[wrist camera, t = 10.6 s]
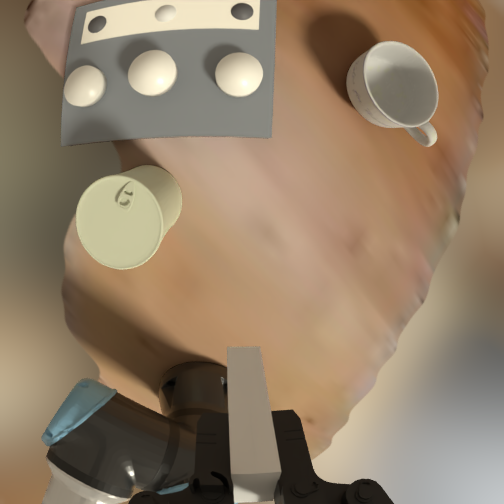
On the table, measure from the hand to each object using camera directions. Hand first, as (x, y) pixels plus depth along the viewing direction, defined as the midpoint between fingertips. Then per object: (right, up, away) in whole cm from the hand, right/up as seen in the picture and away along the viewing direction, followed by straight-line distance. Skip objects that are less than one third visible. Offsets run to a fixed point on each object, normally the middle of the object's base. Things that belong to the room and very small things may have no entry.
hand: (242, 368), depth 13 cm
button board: (-10, +29, +17) cm, 35 cm away
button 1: (-1, +25, +16) cm, 29 cm away
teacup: (+18, +26, +20) cm, 37 cm away
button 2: (-19, +25, +14) cm, 34 cm away
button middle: (-10, +24, +13) cm, 29 cm away
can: (-13, +12, +23) cm, 29 cm away
